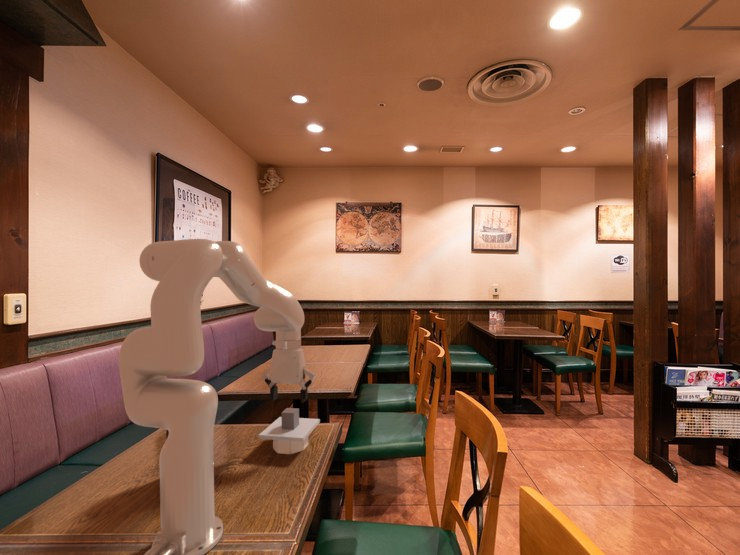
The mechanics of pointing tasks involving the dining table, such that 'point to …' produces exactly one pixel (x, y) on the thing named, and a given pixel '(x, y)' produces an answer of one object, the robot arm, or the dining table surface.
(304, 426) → the lid
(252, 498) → the dining table surface
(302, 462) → the dining table surface
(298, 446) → the bowl
